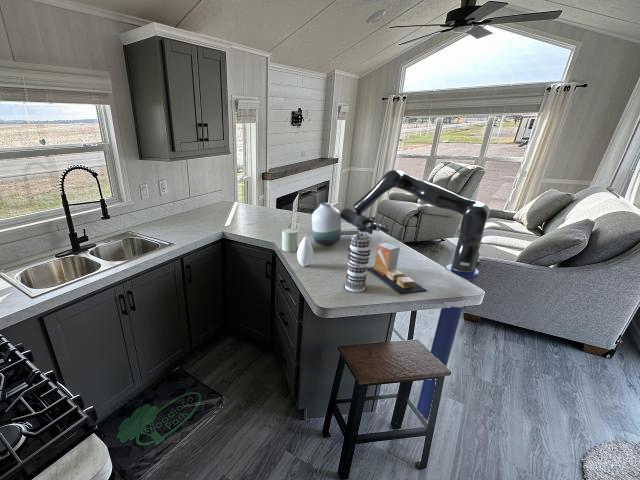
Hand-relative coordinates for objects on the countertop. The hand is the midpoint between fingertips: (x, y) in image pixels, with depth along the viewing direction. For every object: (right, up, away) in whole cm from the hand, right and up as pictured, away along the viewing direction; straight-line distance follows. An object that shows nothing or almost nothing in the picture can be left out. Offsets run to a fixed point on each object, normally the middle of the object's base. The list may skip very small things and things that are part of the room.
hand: (379, 231), depth 165 cm
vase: (-17, -3, +36) cm, 40 cm away
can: (-41, -7, +30) cm, 52 cm away
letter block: (+3, -26, -18) cm, 32 cm away
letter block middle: (+2, -23, -11) cm, 26 cm away
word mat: (+2, -24, -11) cm, 26 cm away
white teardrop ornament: (-37, -17, +7) cm, 41 cm away
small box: (+1, -20, -4) cm, 20 cm away
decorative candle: (-19, -28, -18) cm, 38 cm away
